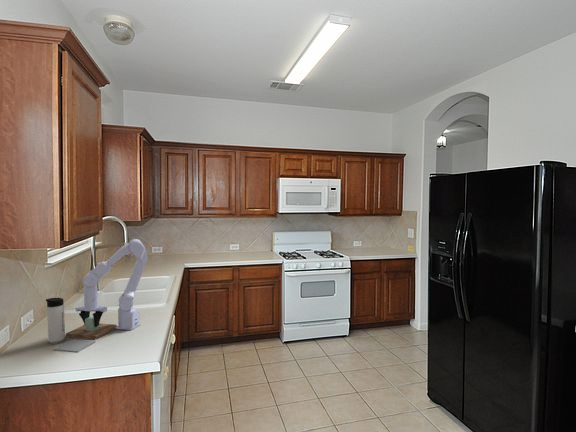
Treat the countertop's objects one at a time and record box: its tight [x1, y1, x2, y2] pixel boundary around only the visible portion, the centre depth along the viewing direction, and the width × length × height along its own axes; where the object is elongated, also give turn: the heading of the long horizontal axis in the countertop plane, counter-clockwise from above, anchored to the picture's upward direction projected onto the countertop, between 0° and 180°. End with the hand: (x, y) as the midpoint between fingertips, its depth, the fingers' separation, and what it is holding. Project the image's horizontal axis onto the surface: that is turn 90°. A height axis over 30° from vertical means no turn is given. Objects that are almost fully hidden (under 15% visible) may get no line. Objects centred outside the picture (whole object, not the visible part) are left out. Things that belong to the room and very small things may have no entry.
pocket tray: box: [65, 322, 118, 340], centre depth 165 cm, size 16×14×2 cm
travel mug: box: [45, 297, 66, 345], centre depth 154 cm, size 6×7×20 cm
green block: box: [85, 315, 99, 332], centre depth 165 cm, size 4×4×7 cm
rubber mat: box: [52, 338, 96, 353], centre depth 150 cm, size 12×10×1 cm
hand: (92, 326), depth 165 cm, fingers closed on green block, 4 cm apart
